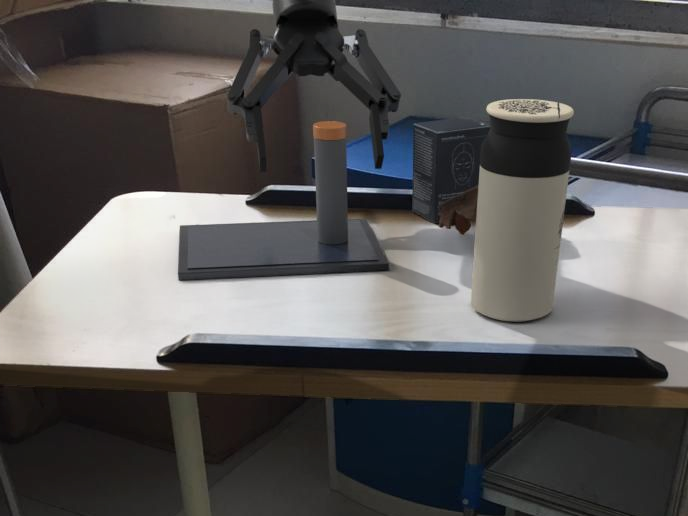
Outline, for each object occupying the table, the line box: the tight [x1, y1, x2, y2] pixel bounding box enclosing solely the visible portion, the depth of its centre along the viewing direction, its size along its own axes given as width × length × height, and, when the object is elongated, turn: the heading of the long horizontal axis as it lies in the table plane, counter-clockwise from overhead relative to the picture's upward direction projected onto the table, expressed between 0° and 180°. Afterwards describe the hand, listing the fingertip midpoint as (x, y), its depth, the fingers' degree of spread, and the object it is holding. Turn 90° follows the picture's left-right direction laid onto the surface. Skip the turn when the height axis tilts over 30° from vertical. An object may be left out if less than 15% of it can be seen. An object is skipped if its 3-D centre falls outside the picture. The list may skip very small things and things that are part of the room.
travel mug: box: [470, 98, 575, 323], centre depth 81 cm, size 8×8×18 cm
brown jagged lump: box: [437, 185, 479, 236], centre depth 101 cm, size 12×10×8 cm
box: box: [411, 116, 490, 224], centre depth 108 cm, size 8×6×11 cm
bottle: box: [312, 120, 349, 245], centre depth 96 cm, size 4×4×12 cm
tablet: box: [177, 217, 390, 281], centre depth 99 cm, size 22×16×1 cm
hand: (322, 164), depth 103 cm, fingers open, 13 cm apart
